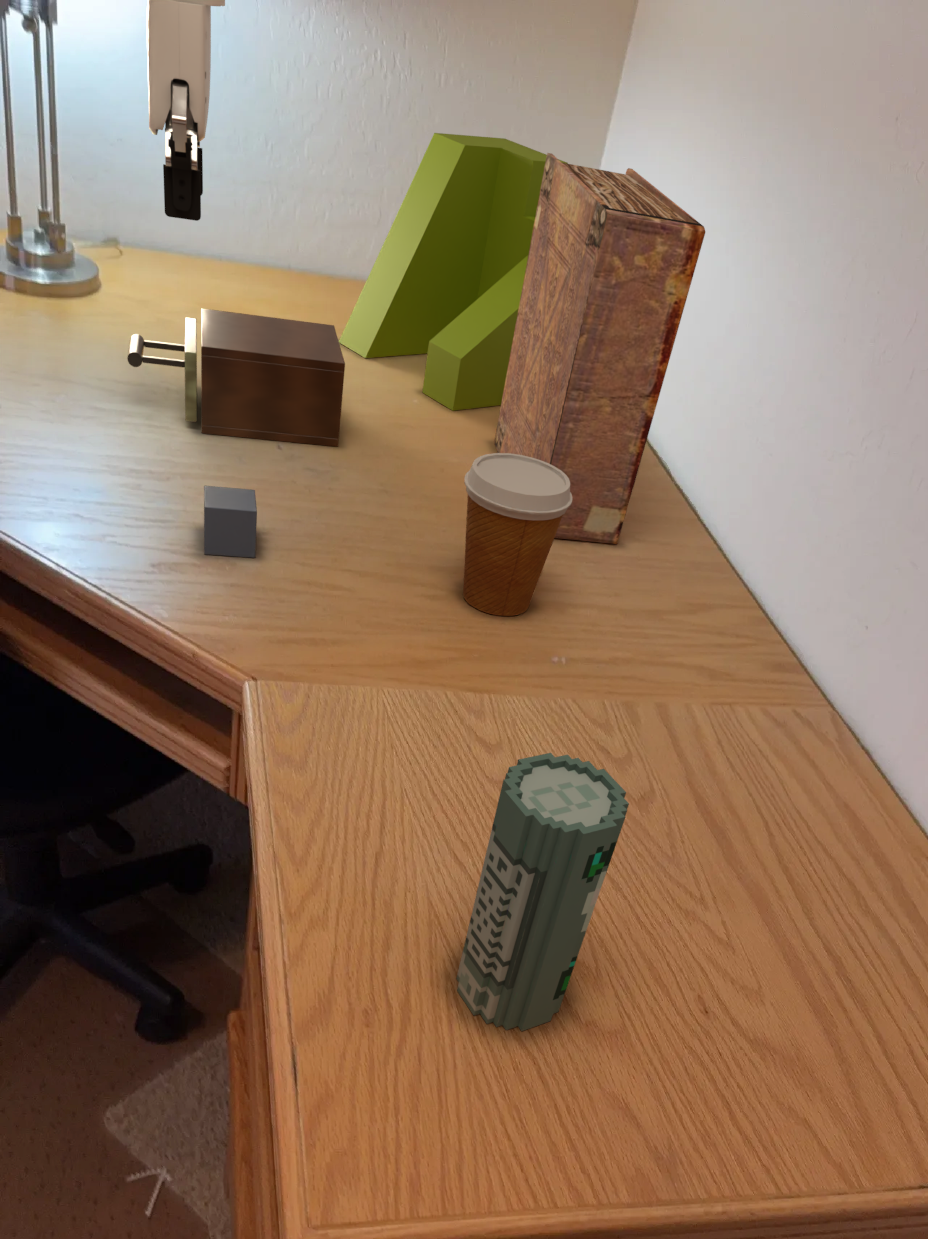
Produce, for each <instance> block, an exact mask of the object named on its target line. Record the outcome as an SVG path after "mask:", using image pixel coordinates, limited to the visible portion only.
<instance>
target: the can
mask: <svg viewBox="0 0 928 1239" xmlns="http://www.w3.org/2000/svg"><path fill="white" fill-rule="evenodd" d="M626 794H627V791H626V790H625V789H624V788H623V787H622V786H621V785H620V784H619V783H618V782H617V781H616V780H615V779H614V777H612V775H611V774H610V773H608V771H607V770H606V769H605V768H601V769H600V768H599V769H597V768H596V767H595V765H593V763H591V761H590V760H586V761H582V760H581V759H580V757H575V758H572V757H571V756H570V755H569V754H564V755H559V756H555V755H554V754H553V753H552V752H547V753H542V754H538V755H534V756H528V757H523V758H519V759H518V760H517V763H516V765H512V766H508V769H507V772H506V773H505V776H504V779H503V780H502V785H501V788H500V793H499V798H498V802H497V806H496V810H495V815H494V817H493V822H492V826H491V830H490V836H489V839H488V843H487V848H486V851H485V852H486V853H485V856H484V860H483V864H482V869H481V872H480V877H479V881H478V886H477V888H476V889H477V890H476V893H475V898H474V903H473V907H472V911H471V915H470V918H469V919H470V920H469V925H468V928H467V931H466V937H465V941H464V944H463V949H462V952H461V953H462V954H461V958H460V962H459V965H458V970H457V974H456V978H455V979H456V981H457V982H458V984H457V988H456V991H457V993H458V995H459V996H460V998H461V999H462V1001H463V1002H464V1004H465V1005H466V1006H467V1008H468V1010H469V1011H470V1012H471V1014H472V1015H473V1016H474V1017H475V1016H477V1015H480V1016H481V1018H482V1019H483V1022H485V1024H486V1025H488V1024H491V1023H492V1024H494V1026H495V1027H496V1028H498V1027H501V1026H502V1027H503V1029H504V1030H505V1031H508V1030H511V1029H514V1028H516V1027H518V1029H519V1030H520V1031H521V1032H524V1031H527V1030H530V1029H533V1028H536V1027H538V1026H540V1025H544V1024H546V1023H549V1022H551V1021H552V1019H553V1016H554V1014H557V1013H559V1012H560V1009H561V1006H562V1003H563V1001H564V998H565V995H566V992H567V990H568V986H569V982H570V980H571V977H572V974H573V971H574V968H575V965H576V962H577V960H578V957H579V953H580V950H581V948H582V944H583V943H584V938H585V936H586V934H587V930H588V927H589V925H590V922H591V919H592V916H593V913H594V910H595V907H596V904H597V901H598V898H599V895H600V893H601V889H602V887H603V884H604V881H605V878H606V875H607V872H608V869H609V866H610V863H611V860H612V858H613V855H614V852H615V849H616V846H617V843H618V840H619V837H620V835H621V831H622V828H623V827H624V823H625V820H626V817H627V816H626V815H627V812H628V808H629V805H630V802H628V800H627V799H626V798H625V796H626Z"/></svg>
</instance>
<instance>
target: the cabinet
mask: <svg viewBox="0 0 928 1239" xmlns="http://www.w3.org/2000/svg"><path fill="white" fill-rule="evenodd" d="M200 322H201V323H200V324H201V325H200V332H201V333H200V342H201V343H200V347H201V349H200V352H201V354H200V355H201V356H200V359H201V360H200V361H201V363H200V365H201V367H200V372H201V374H200V376H201V377H200V379H201V383H200V385H201V386H200V387H201V388H200V395H201V396H200V397H201V398H200V400H201V402H200V404H201V405H200V406H201V415H200V416H201V434H206V435H214V436H215V435H217V436H225V437H226V436H227V437H235V438H245V439H256V440H265V441H266V440H267V441H275V442H278V441H279V442H287V443H295V444H296V443H297V444H306V445H317V446H327V447H336V448H337V447H339V442H340V441H339V439H340V428H341V416H342V405H343V404H342V403H343V395H344V394H343V392H344V383H345V382H344V381H345V370H346V362H345V359H344V355H343V351H342V349H341V345H340V344H341V343H339V338H338V337H339V336H338V334H337V330H336V327H335V325H334V324H328V323H327V324H326V323H318V322H310V321H303V320H297V319H296V320H295V319H289V318H288V319H287V318H281V317H272V316H264V315H256V314H249V313H242V312H234V311H227V310H226V311H225V310H218V309H211V308H202V307H201V309H200Z"/></svg>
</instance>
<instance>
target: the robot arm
mask: <svg viewBox="0 0 928 1239" xmlns="http://www.w3.org/2000/svg"><path fill="white" fill-rule="evenodd" d="M225 6H226V0H147V1H146V54H147V89H148V90H147V91H148V129H149V131H150V132H151V133H152V135H155V136H158V133H159V130H160V131H163V130H164V134H165V135H164V141H165V142H164V144H165V145H164V146H165V147H164V155H165V156H164V157H165V158H164V159H165V160H164V162H165V164H163V165H162V170H163V173H162V174H163V199H164V200H163V202H164V214H165V216H166V217H167V218H168V217H169V218H174V219H181V220H188V221H197V222H199V221H200V220H201V218H202V204H201V203H202V198H201V196H203V193H204V181H203V180H204V176H203V175H204V174H203V172H204V170H203V169H204V168H203V147H201V142H202V141H203V140H204V139H205V138H206V132H207V127H208V125H207V124H208V116H209V108H210V107H209V106H210V94H211V92H210V91H211V68H212V67H211V65H212V64H211V61H212V60H211V59H212V53H211V52H212V39H211V38H212V7H225Z"/></svg>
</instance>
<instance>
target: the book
mask: <svg viewBox="0 0 928 1239" xmlns="http://www.w3.org/2000/svg"><path fill="white" fill-rule="evenodd" d="M546 155H547V157H546V162H545V167H544V173H543V178H542V183H541V189H540V194H539V200H538V205H537V211H536V216H535V222H534V227H533V233H532V238H531V244H530V249H529V255H528V260H527V265H526V271H525V276H524V282H523V287H522V293H521V298H520V304H519V309H518V315H517V320H516V326H515V331H514V337H513V342H512V347H511V353H510V358H509V364H508V369H507V375H506V380H505V386H504V391H503V397H502V402H501V405H500V408H499V412H498V413H499V414H498V419H497V423H496V429H495V435H494V447H495V449H496V451H497V453H511V454H518V455H524V456H528V457H532V458H535V459H538V460H541V461H544V462H546V463H549V464H551V465H553V466H555V467H556V468H558V469H559V470H561V471H562V472H563V473H565V474H566V475H567V477H568V478H569V480H570V492H571V494H572V503H571V505H570V507H568V508H567V510H566V512H565V514H563V516H562V518H561V521H560V524H559V527H558V529H557V532H556V535H555V537H554V539H562V540H570V541H583V542H591V543H592V542H593V543H602V544H612V545H617V544H618V543H619V539H620V536H621V533H622V529H623V526H624V522H625V519H626V514H627V512H628V507H629V504H630V501H631V496H632V493H633V490H634V486H635V483H636V480H637V475H638V472H639V469H640V465H641V461H642V458H643V455H644V451H645V447H646V444H647V440H648V437H649V434H650V430H651V427H652V422H653V420H654V415H655V412H656V409H657V406H658V402H659V398H660V394H661V391H662V387H663V384H664V380H665V377H666V373H667V370H668V366H669V362H670V359H671V356H672V353H673V352H672V351H673V348H674V346H675V342H676V338H677V335H678V331H679V327H680V324H681V321H682V316H683V314H684V311H685V310H684V309H685V306H686V302H687V299H688V296H689V292H690V288H691V284H692V281H693V277H694V274H695V272H696V271H695V270H696V267H697V264H698V260H699V257H700V253H701V249H702V246H703V242H704V240H705V236H706V229H705V226H704V225H703V224H702V223H700V221H697V220H696V219H695V218H694V217H693V216H692V215H690V214H689V213H688V212H687V211H686V210H684V209H683V208H682V207H680V206H679V205H678V204H677V203H676V202H674V201H673V200H672V199H670V198H669V197H668V196H667V195H665V194H664V193H663V192H662V191H660V190H659V189H658V188H657V187H655V186H654V184H652V183H651V182H650V181H648V180H647V179H646V178H644V177H643V176H642V175H641V174H640V173H638V172H637V171H636V170H635V169H634V168H630V167H628V168H627V169H626V171H625V173H620V172H615V171H609V170H604V169H599V168H593V167H587V166H583V165H578V164H573V163H572V164H571V163H568V162H567V163H568V164H567V163H562V162H560V161H559V160H560V159H559V158H557V156H555V155H554V154H553V153H551V152H547V153H546ZM558 159H559V160H558Z"/></svg>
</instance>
